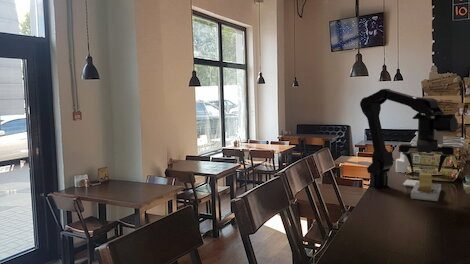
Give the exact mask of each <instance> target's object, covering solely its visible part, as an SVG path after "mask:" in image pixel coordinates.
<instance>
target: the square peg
mask: <svg viewBox="0 0 470 264" xmlns="http://www.w3.org/2000/svg"><path fill="white" fill-rule="evenodd" d="M418 176H419V179H418V181H419V191H424V192H432V183H433V176H432V173H425V172H424V171H421V172H419V175H418Z"/></svg>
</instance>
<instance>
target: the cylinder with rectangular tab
mask: <svg viewBox="0 0 470 264" xmlns="http://www.w3.org/2000/svg"><path fill="white" fill-rule="evenodd" d="M399 153H400V155H399V158H396V159H395V172H396V173H398V172H401V173H400V174H406V173H405V172H406V169H407V166H408V164H409V162H408V159H407V157H406V155H404V154H402V153H403V152H399Z"/></svg>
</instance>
